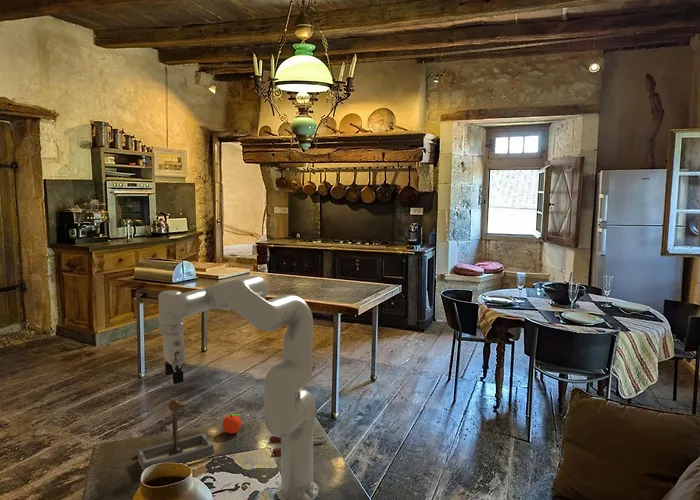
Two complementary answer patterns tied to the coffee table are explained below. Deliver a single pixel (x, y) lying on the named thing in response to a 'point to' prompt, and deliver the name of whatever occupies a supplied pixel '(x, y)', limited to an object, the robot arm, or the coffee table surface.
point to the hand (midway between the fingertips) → (174, 378)
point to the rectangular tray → (192, 451)
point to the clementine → (231, 423)
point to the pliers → (272, 439)
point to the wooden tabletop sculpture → (175, 426)
